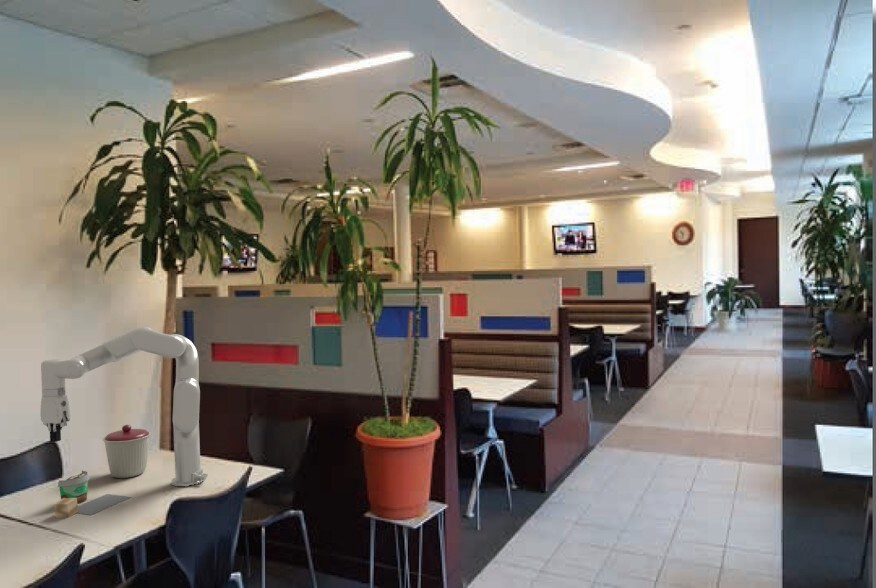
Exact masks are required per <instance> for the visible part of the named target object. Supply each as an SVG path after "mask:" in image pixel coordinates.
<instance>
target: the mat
mask: <svg viewBox="0 0 876 588" xmlns="http://www.w3.org/2000/svg"><path fill="white" fill-rule="evenodd" d="M131 498H133V497H132V496H126V495H117V494H110V493H106V494H104V495H101V496H99V497H97V498H94V499H92V500H89V501H87V502H85V503H84V502H83V503H81V504H80V505H79V504H78V512H77V513H76V514H77V515H83V516H84V515H85V516H92V515H95V514H97V513H100V512H102V511H104V510H106V509H108V508H112V507H113V506H116V505H118V504H121V503H122V502H125V501H127V500H130V499H131Z"/></svg>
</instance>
